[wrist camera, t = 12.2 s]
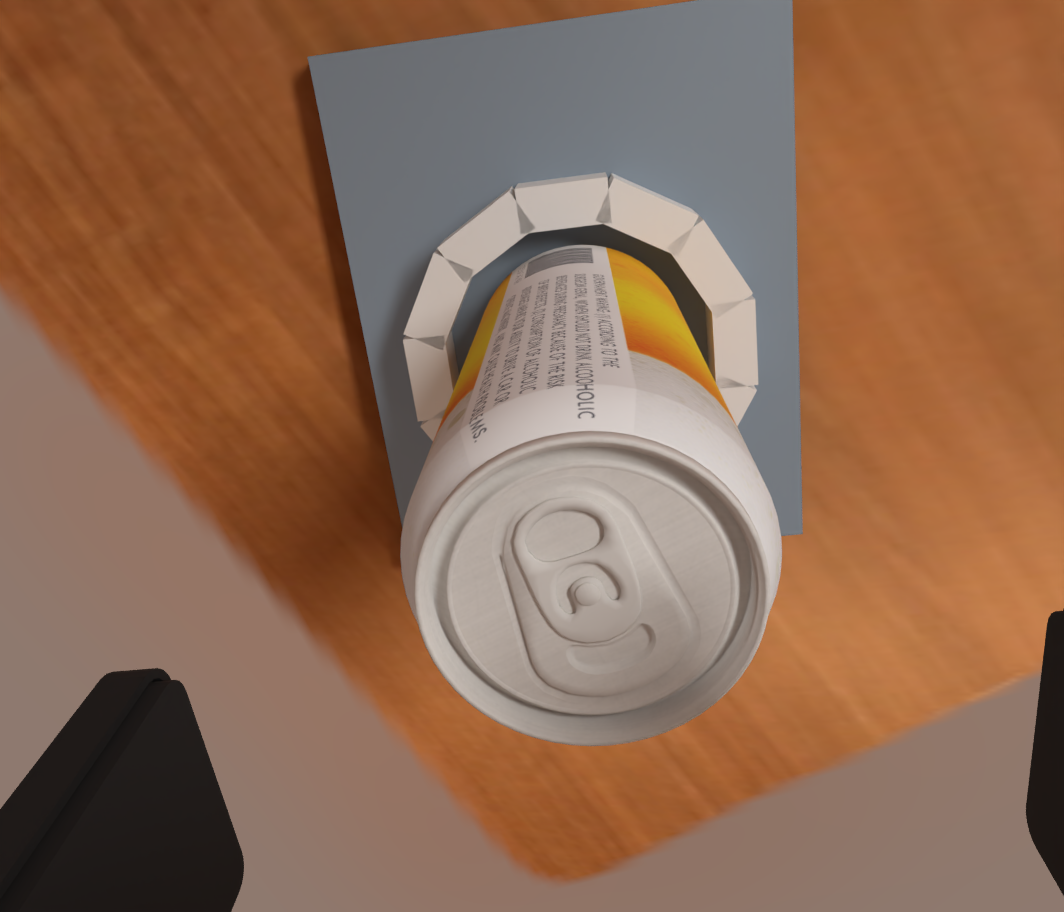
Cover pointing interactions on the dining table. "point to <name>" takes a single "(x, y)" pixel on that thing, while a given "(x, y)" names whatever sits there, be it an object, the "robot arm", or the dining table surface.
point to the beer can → (589, 513)
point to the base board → (575, 197)
